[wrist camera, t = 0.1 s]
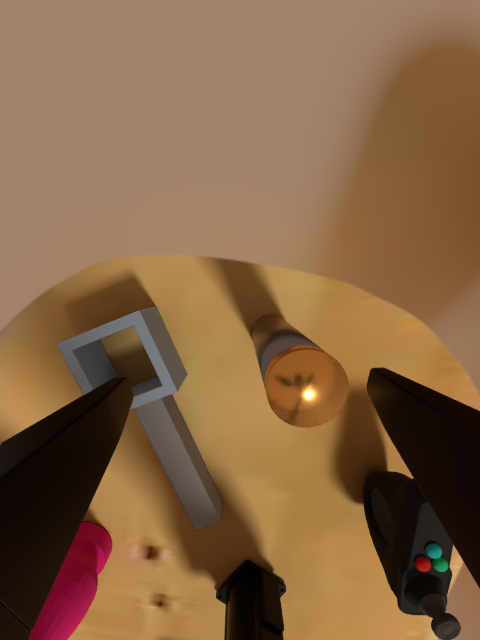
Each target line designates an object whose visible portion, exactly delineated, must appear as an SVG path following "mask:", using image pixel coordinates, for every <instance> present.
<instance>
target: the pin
mask: <svg viewBox="0 0 480 640" xmlns="http://www.w3.org/2000/svg"><path fill="white" fill-rule="evenodd" d="M252 339H253V343H254V347H255V351H256V355H257V359H258V363H259V367H260V371H261V375H262V378H263V382H264V386H265V390H266V394H267V398H268V401H269V404H270V406H271V408H272V410H273V411H274V413H275V414H276V415H277V416H278V417H279V418H280V419H281V420H283V421H284V422H286V423H288V424H290V425H293V426H297V427H314V426H318V425H321V424H324V423H326V422H328V421H329V420H331V419H332V418H334V417H335V416H336V415H337V414H338V413H339V411H340V410H341V409H342V407H343V406H344V404H345V402H346V399H347V396H348V386H349V385H348V379H347V375H346V373H345V371H344V369H343V367H342V366H341V365H340V363H339V362H338V361H337V360H336V359H334V358H333V357H332V356H330V355H329V354H328V353H326V352H325V351H324V350H323V349H321V348H320V347H319V346H317V345H316V344H315V343H313V342H312V341H311V340H310V339H308V338H307V337H306V336H304V335H303V334H302V333H300V332H299V331H298V330H296V329H295V328H294V327H293V326H291V325H290V324H289V323H287V322H286V321H285V320H283V319H282V318H281V317H279V316H275V315H266V316H263V317H261V318H260V319H259V320H257V321H256V323H255V324H254V326H253V329H252Z"/></svg>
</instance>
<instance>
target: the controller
mask: <svg viewBox="0 0 480 640" xmlns="http://www.w3.org/2000/svg"><path fill="white" fill-rule="evenodd" d="M363 502H364V511H365V516H366V520H367V524H368V528H369V532H370V535H371V538H372V541H373V544H374V546H375V549H376V551H377V554H378V556H379V559H380V561H381V564H382V566H383V568H384V571H385V574H386V577H387V580H388V583H389V585H390V588H391V590H392V591H393V592H394V594H395V596H396V597H397V601H398V607H399V609H400V610H401V611H402V612H403V613H405V614H410V615H427V616H429V617H431V618H433V620H432V622H431V627H432V630H433V632H434V633H435V635H436V636H437V637H438V638H440V639H442V640H451V639H453V638H455V637H457V636H458V634H459V633H460V630H461V627H460V623H459V622H458V620H457V619H456V618H455V617H454V616H453V615H451V614H449V613H445V611H446V605H447V593H448V590H449V586H450V582H451V578H452V571H451V569H450V567H449V566H450V560H451V554H452V548H453V543H452V541H451V539H450V538H449V536H448V534H447V533H446V531H445V529H444V528H443V526H442V524H441V523H440V521H439V519H438V518H437V516H436V514H435V513H434V511H433V509H432V508H431V506H430V504H429V503H428V501H427V499H426V498H425V496H424V494H423V492H422V491H421V489H420V487H419V486H418V484H417V482H416V481H415V479H411V478H409V477H408V476H406V475H404V474H401V473H398V472H389V471H381V472H375V473H373V474H371V475H370V476H369V477H368V479H367V481H366V483H365V486H364V492H363Z"/></svg>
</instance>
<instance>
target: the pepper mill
mask: <svg viewBox="0 0 480 640" xmlns="http://www.w3.org/2000/svg"><path fill="white" fill-rule="evenodd" d="M111 550H112V541H111V538H110V536H109V534H108V533H107V531H105V530H104V529H103V528H102V527H100V526H99V525H97V524H94V523H90V522H82V523H81V525H80V527H79V530H78V532H77V534H76V536H75V538H74V541H73V543H72V545H71V547H70V549H69V552H68V554H67V556H66V558H65V560H64V562H63V565H62V567H61V569H60V571H59V573H58V576H57V578H56V580H55V582H54V584H53V587H52V589H51V591H50V593H49V595H48V597H47V600H46V602H45V604H44V606H43V608H42V611H41V613H40V615H39V617H38V619H37V622H36V624H35V626H34V628H33V630H32V631H31V635H30V637H29V640H67V639H68V638H69V637H70V636H71V635H72V633H73V632H74V631H75V629H76V628H77V627H78V625H79V624H80V622H81V621H82V619H83V618H84V616H85V615H86V613H87V611H88V609H89V607H90V605H91V603H92V602H93V600H94V597H95V595H96V591H97V585H98V578H97V575H99V574H100V572H101V571H102V570H103V568H104V566H105V564H106V562H107V560H108V558H109V555H110V553H111Z"/></svg>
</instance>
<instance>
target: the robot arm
mask: <svg viewBox="0 0 480 640" xmlns="http://www.w3.org/2000/svg"><path fill="white" fill-rule="evenodd" d="M367 392H368V394H369V396H370V399H371V401H372V403H373V405H374V407H375V409H376V411H377V413H378V416H379V418H380V420H381V422H382V424H383V426H384V428H385V430H386V432H387V434H388V435H389V437H390V439H391V441H392V442H393V444H394V446H395V447H396V449H397V451H398V452H399V454H400V456H401V457H402V459H403V461H404V462H405V464H406V466H407V467H408V469H409V471H410V472H411V474H412V476H413V477H414V479H415V481H416V482H417V484H418V486H419V487H420V489H421V491H422V492H423V494H424V496H425V498H426V499H427V501H428V503H429V504H430V506H431V508H432V509H433V511H434V513H435V514H436V516H437V518H438V519H439V521H440V523H441V524H442V526H443V528H444V529H445V531H446V533H447V534H448V536H449V538H450V539H451V541H452V543H453V544H454V546H455V548H456V549H457V551H458V553H459V555H460V556H461V558H462V560H463V561H464V563H465V565H466V566H467V568H468V570H469V571H470V573H471V575H472V576H473V578H474V580H475V581H476V582H477V585H478V586H479V588H480V411H478V410H476V409H474V408H472V407H470V406H467V405H465V404H463V403H461V402H459V401H456V400H454V399H452V398H450V397H448V396H445V395H443V394H441V393H439V392H437V391H434V390H432V389H430V388H428V387H426V386H423V385H421V384H419V383H417V382H415V381H412V380H410V379H408V378H406V377H404V376H401V375H399V374H397V373H395V372H393V371H390V370H388V369H386V368H372V369H371V370H370V373H369V378H368V382H367ZM133 398H134V394H133V390H132V386H131V382H130V379H129V377H127V376H116V377H114V378H112V379H111V380H109V381H107V382H105V383H104V384H102V385H100V386H99V387H97V388H95V389H93V390H92V391H90V392H88V393H87V394H85V395H83V396H81V397H80V398H78V399H76V400H75V401H73V402H71V403H69V404H68V405H66V406H64V407H62V408H61V409H59V410H57V411H56V412H54V413H52V414H50V415H49V416H47V417H45V418H44V419H42V420H40V421H38V422H37V423H35V424H33V425H32V426H30V427H28V428H26V429H25V430H23V431H21V432H19V433H18V434H16V435H14V436H13V437H11V438H9V439H7V440H6V441H4V442H2V443H1V445H0V640H29V637H30V635H31V631H32V630H33V628H34V626H35V624H36V622H37V619H38V617H39V615H40V613H41V611H42V608H43V606H44V604H45V602H46V600H47V597H48V595H49V593H50V591H51V589H52V587H53V584H54V582H55V580H56V578H57V576H58V573H59V571H60V569H61V567H62V565H63V562H64V560H65V558H66V556H67V554H68V552H69V549H70V547H71V545H72V543H73V541H74V538H75V536H76V534H77V532H78V530H79V527H80V525H81V523H82V521H83V519H84V517H85V514H86V512H87V510H88V508H89V506H90V503H91V501H92V499H93V497H94V495H95V492H96V490H97V488H98V486H99V484H100V482H101V479H102V477H103V475H104V473H105V471H106V468H107V466H108V464H109V462H110V460H111V457H112V455H113V453H114V451H115V449H116V446H117V444H118V442H119V440H120V437H121V434H122V431H123V428H124V425H125V422H126V420H127V417H128V414H129V411H130V408H131V405H132V402H133ZM285 592H286V586H285V584H284V583H282V582H281V581H279V580H278V579H276V578H275V577H273V576H272V575H270V574H269V573H267V572H265V571H264V570H262V569H261V568H259V567H258V566H256V565H255V564H253V563H252V562H250V561H245V562H244V563H243V564H242V565H241V566H240V567H239V568H238V569H237V570H236V571H235V572H234V573H233V574H232V575H231V577H230V578H229V579H228V580H227V581H226V582H225V583H224V584H223V585H222V586H221V587H220V588H219V589H218V590H217V592H216V598H217V599H218V600H220V601H221V602H223V603H224V604H226V613H225V638H224V640H283V631H284V624H283V616H282V609H281V601H280V597H281V596H282V595H283V594H284V593H285Z"/></svg>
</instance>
